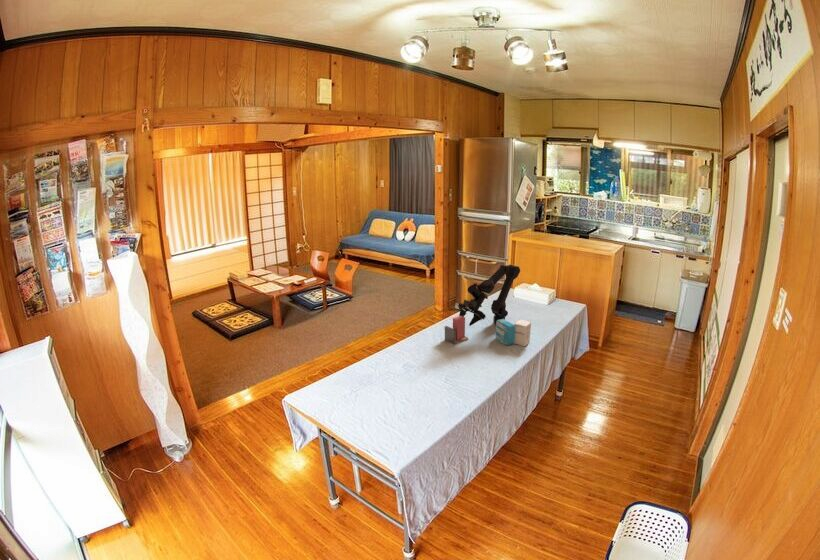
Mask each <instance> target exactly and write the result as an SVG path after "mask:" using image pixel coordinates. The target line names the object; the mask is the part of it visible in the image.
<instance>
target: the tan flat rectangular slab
mask: <svg viewBox="0 0 820 560" xmlns="http://www.w3.org/2000/svg"><path fill="white" fill-rule="evenodd" d="M468 340H469V337H468V336H466V335H465V337H464V338H461V339H458V340H456V345H458V344H460V343H463V342H466V341H468Z"/></svg>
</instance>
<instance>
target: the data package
mask: <svg viewBox="0 0 820 560" xmlns="http://www.w3.org/2000/svg"><path fill="white" fill-rule="evenodd" d="M495 339H496V340H498V341H500V342H501V343H502V344H504V345H505V346H509V345H513V344H515V343H514V339H515V326H514V324H513V323H512V322H510V321H508V320H507V319H506V318H505V319H501V320H497V321H496V325H495Z"/></svg>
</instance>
